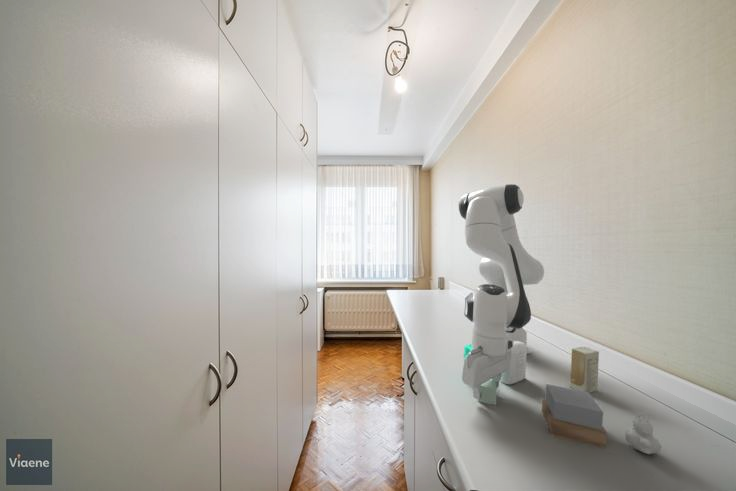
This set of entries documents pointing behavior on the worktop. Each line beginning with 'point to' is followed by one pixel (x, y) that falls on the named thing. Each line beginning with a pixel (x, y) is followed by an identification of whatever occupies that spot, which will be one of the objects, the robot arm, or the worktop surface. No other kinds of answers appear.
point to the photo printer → (516, 364)
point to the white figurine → (642, 436)
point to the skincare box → (584, 369)
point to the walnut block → (573, 429)
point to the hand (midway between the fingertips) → (486, 392)
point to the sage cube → (488, 392)
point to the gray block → (574, 406)
